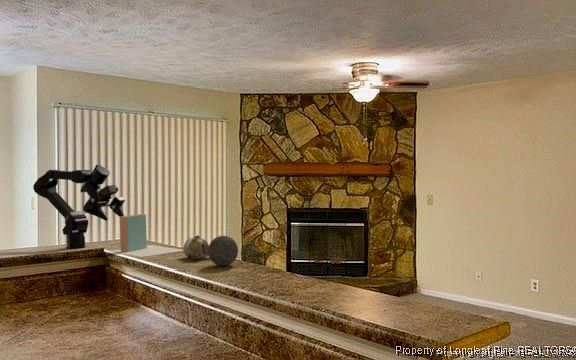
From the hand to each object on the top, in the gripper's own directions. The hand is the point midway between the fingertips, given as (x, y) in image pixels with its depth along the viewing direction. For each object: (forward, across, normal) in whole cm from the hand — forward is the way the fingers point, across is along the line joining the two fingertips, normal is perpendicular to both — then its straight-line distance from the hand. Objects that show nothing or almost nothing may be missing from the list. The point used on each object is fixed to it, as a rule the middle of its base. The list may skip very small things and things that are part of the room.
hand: (115, 218), depth 215 cm
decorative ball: (+54, -16, -35) cm, 67 cm away
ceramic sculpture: (+42, -6, -23) cm, 48 cm away
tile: (+16, 0, +2) cm, 16 cm away
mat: (+20, 0, -2) cm, 21 cm away
